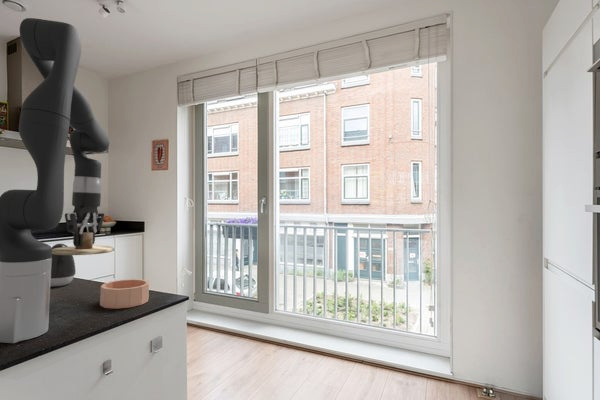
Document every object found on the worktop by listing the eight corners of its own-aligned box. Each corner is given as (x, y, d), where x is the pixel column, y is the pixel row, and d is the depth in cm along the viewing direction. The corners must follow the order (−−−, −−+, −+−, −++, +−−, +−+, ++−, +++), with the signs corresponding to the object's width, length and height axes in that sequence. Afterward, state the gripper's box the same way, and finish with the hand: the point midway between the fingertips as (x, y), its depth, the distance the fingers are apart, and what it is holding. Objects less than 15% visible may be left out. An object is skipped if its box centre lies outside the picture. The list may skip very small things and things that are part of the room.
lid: (87, 256, 91) (88, 235, 91) (37, 253, 93) (38, 233, 93) (123, 249, 107) (124, 232, 107) (80, 247, 108) (81, 230, 109)
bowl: (131, 309, 91) (131, 290, 91) (89, 306, 92) (90, 288, 92) (156, 297, 104) (157, 280, 104) (120, 294, 105) (120, 278, 105)
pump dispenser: (33, 286, 113) (35, 243, 113) (66, 280, 122) (68, 241, 122) (48, 290, 108) (50, 246, 108) (80, 284, 117) (82, 243, 118)
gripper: (80, 190, 93) (77, 248, 92) (113, 193, 107) (110, 243, 107) (56, 190, 94) (53, 247, 93) (92, 192, 108) (90, 242, 107)
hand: (84, 245), depth 100 cm, fingers closed on lid, 4 cm apart
